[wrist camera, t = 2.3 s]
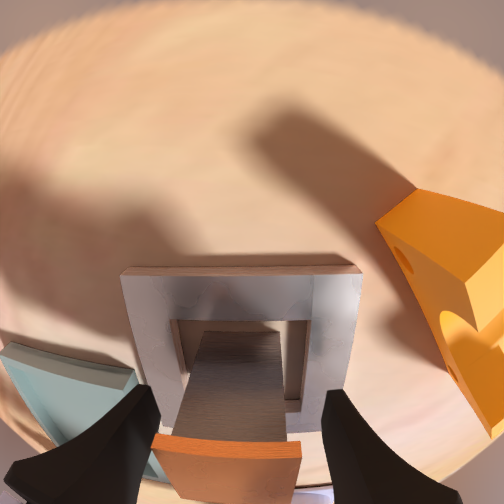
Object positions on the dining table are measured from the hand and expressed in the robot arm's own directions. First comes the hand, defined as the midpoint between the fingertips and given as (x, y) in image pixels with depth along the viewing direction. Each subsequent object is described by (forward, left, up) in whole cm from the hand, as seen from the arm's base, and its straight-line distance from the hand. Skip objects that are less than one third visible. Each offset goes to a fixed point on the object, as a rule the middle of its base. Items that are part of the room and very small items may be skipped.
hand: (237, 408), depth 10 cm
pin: (0, 0, -3) cm, 3 cm away
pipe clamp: (+3, -11, -4) cm, 12 cm away
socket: (0, 0, -3) cm, 3 cm away
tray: (-7, +12, -3) cm, 14 cm away
